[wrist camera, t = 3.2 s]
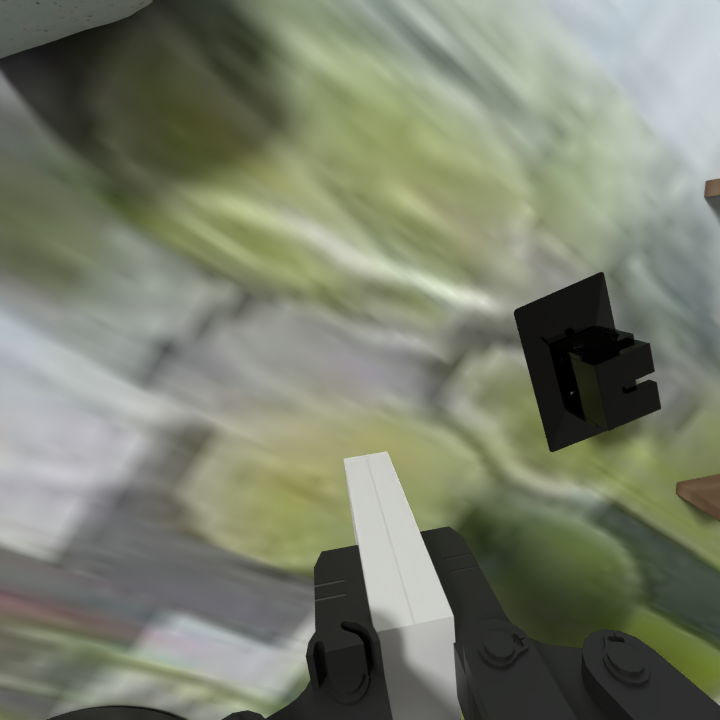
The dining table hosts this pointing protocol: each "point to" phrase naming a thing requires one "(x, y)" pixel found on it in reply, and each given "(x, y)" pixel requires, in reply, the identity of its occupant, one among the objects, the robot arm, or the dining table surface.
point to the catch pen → (713, 491)
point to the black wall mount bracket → (584, 364)
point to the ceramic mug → (56, 19)
